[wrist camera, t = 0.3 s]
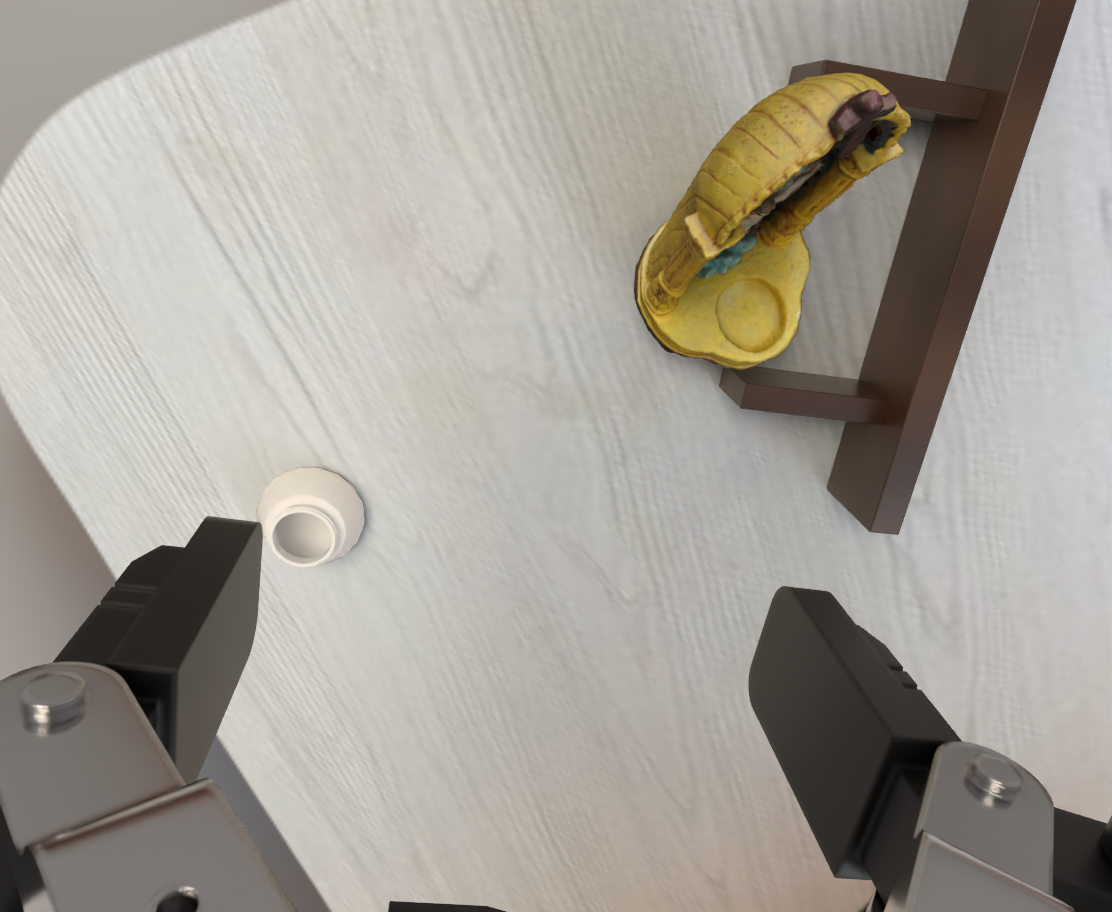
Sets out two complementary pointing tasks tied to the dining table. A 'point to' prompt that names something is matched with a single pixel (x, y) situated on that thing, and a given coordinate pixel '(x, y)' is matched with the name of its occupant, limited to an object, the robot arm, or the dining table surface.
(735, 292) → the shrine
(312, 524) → the white jar
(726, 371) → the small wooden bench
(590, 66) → the dining table surface
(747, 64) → the dining table surface
